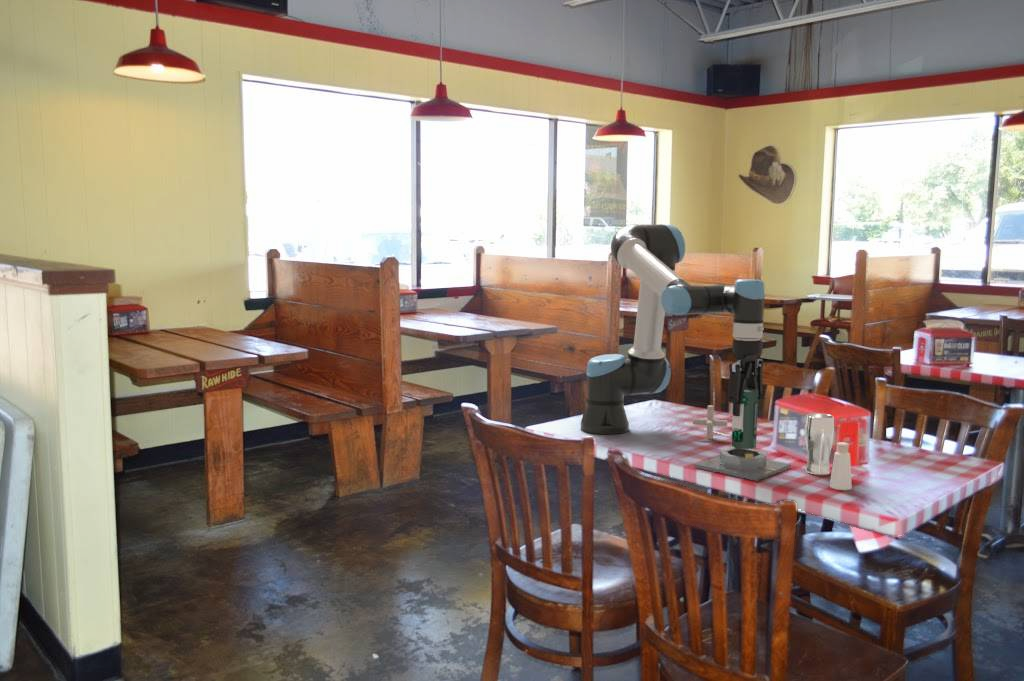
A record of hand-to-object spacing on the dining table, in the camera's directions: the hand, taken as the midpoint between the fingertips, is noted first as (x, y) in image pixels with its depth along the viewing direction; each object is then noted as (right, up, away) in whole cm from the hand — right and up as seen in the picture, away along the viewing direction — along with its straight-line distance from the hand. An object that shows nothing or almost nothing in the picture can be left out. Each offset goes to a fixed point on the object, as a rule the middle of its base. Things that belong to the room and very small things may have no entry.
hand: (744, 425), depth 227 cm
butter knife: (-2, -6, +49) cm, 49 cm away
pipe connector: (-1, -7, +34) cm, 35 cm away
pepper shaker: (+19, -14, -16) cm, 28 cm away
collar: (0, -11, +1) cm, 11 cm away
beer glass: (+18, -12, -2) cm, 22 cm away
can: (0, -6, +1) cm, 6 cm away
